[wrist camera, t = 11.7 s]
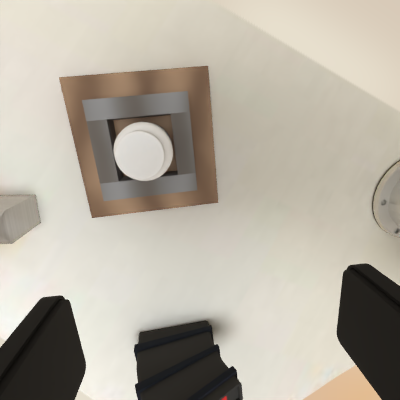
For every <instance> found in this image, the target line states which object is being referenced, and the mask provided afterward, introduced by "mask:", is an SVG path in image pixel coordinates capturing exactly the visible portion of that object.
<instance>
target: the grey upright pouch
mask: <svg viewBox="0 0 400 400" xmlns="http://www.w3.org/2000/svg"><path fill="white" fill-rule="evenodd" d="M40 223H41V222H40V216H39V211H38V205H37V199H36V195H0V244H12V243H14V242H15V241H16V240H18V239H19V238H20V237H22V236H23V235H25V234H26V233H27V232H29V231H30V230H31V229H33V228H34V227H36V226H37V225H38V224H40Z"/></svg>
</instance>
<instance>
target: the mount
mask: <svg viewBox="0 0 400 400" xmlns="http://www.w3.org/2000/svg"><path fill="white" fill-rule="evenodd" d="M59 79H60V84H61V88H62V92H63V96H64V101H65V105H66V109H67V113H68V118H69V122H70V126H71V130H72V135H73V139H74V143H75V147H76V152H77V156H78V160H79V164H80V169H81V173H82V177H83V181H84V186H85V190H86V194H87V198H88V203H89V207H90V211H91V215H92V218H95V217H104V216H112V215H120V214H128V213H136V212H145V211H153V210H161V209H169V208H177V207H185V206H194V205H202V204H210V203H218V195H217V181H216V168H215V154H214V141H213V128H212V114H211V101H210V87H209V74H208V66H200V67H188V68H175V69H162V70H149V71H137V72H124V73H111V74H98V75H85V76H73V77H60V78H59ZM137 122H148V123H153V124H156V125H159V126H160V127H162V128H163V129H164V130H165V131H166V132H167V133H168V135H169V136H170V138H171V141H172V148H173V158H172V162H171V164H170V166H169V168H168V169H167V171H166V172H165V173H164V174H163V175H161V176H160V177H158V178H156V179H154V180H150V181H139V180H135V179H133V178H130V177H128V176H127V175H125V174H124V173H123V172H122V171H121V170H120V168H119V167H118V165H117V163H116V161H115V157H114V143H115V140H116V138H117V136H118V134H119V133H120V132H121V131H122V130H123V129H124V128H125V127H127V126H128V125H130V124H133V123H137Z"/></svg>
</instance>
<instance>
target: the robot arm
mask: <svg viewBox="0 0 400 400" xmlns="http://www.w3.org/2000/svg"><path fill="white" fill-rule="evenodd" d="M373 212H374V216H375V219H376V221H377V223H378V225H379V226H380V227H381V228H382V229H383V230H385V231H386V232H387V233H389V234H391V235H393V236H396V237H400V161H399V162H398V163H396V164H395V165H394V166H393V167H392V168H391V169H390V170H389V171H388V172H387V173H386V174H385V176H384V177H383V178H382V180H381V181H380V183H379V185H378V187H377V190H376V193H375V196H374V202H373ZM337 337H338V340H339V342H340V344H341V345H342V346H343V348H344V349H345V350H346V352H347V353H348V355H349V356H350V357H351V359H352V360H353V361H354V363H355V364H356V365H357V367H358V368H359V369H360V371H361V372H362V373H363V375H364V376H365V378H366V379H367V380H368V382H369V383H370V384H371V386H372V387H373V388H374V390H375V391H376V392H377V394H378V395H379V396H380V398H381V399H382V400H400V286H399V285H397V284H396V283H395V282H393V281H392V280H390V279H389V278H388V277H386V276H385V275H383V274H382V273H381V272H379V271H378V270H377V269H375V268H374V267H372V266H371V265H369V264H357V265H350V266H348V268H347V270H345V271H344V272H343V279H342V288H341V297H340V307H339V316H338V325H337ZM85 369H86V362H85V358H84V354H83V350H82V346H81V342H80V339H79V335H78V331H77V327H76V323H75V319H74V316H73V312H72V308H71V304H70V301H69V300H65V298H64V297H63V296H51V297H43V298H41V299H40V300H39V301H38V302H37V304H36V305H35V306H34V307H33V309H32V310H31V311H30V312H29V313H28V315H27V316H26V317H25V318H24V320H23V321H22V322H21V323H20V324H19V326H18V327H17V328H16V329H15V330H14V332H13V333H12V334H11V335H10V337H9V338H8V339H7V340H6V341H5V343H4V344H3V345H2V346H1V348H0V400H75V397H76V395H77V392H78V390H79V387H80V385H81V382H82V379H83V377H84V374H85Z"/></svg>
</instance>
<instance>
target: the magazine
mask: <svg viewBox="0 0 400 400" xmlns="http://www.w3.org/2000/svg"><path fill="white" fill-rule="evenodd" d="M134 353H135V357H136V361H137V377H138V383H137V384H135V388H136V393H137V397H138V400H242V399H243V396H242V385H241V383H240V382H239V380H238V379H237V371H236V369H235V368H234V367H233V366H232V367H230V368H228V367H227V366H226V365H225V363H224V362H223V361H222V359H221V357H220V350H219V346H218V344H216V345H214V342H213V334H212V327H211V325H210V326H209V324H208V322H207V321H203V322H197V323H192V324H186V325H181V326H175V327H169V328H164V329H158V330H153V331H147V332H142V333H140V334H139V342H138V344H136V345H135V347H134Z"/></svg>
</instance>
